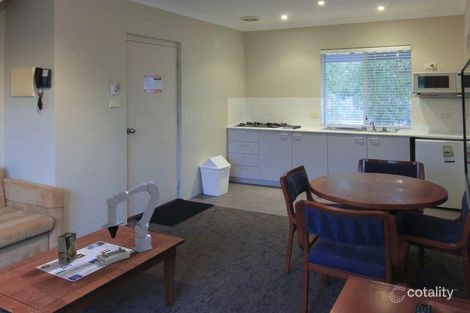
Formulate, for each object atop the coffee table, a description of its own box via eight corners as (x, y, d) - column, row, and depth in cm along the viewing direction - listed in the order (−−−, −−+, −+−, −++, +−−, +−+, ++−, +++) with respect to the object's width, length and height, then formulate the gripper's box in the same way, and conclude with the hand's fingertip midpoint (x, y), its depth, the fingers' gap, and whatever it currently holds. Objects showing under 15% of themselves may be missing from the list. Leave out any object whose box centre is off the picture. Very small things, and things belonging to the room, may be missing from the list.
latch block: (120, 252, 245) (120, 245, 245) (129, 257, 239) (129, 249, 238) (96, 260, 234) (96, 252, 233) (105, 265, 227) (105, 257, 226)
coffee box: (68, 264, 227) (66, 237, 224) (58, 263, 228) (56, 237, 226) (77, 258, 236) (76, 232, 233) (68, 257, 237) (66, 231, 235)
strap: (121, 250, 242) (121, 247, 241) (124, 251, 240) (124, 248, 239) (102, 256, 232) (102, 253, 232) (105, 257, 230) (105, 255, 230)
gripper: (119, 212, 248) (120, 233, 250) (98, 217, 237) (99, 239, 239) (125, 214, 243) (126, 236, 245) (104, 220, 232) (105, 242, 234)
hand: (113, 237), depth 242 cm, fingers closed
